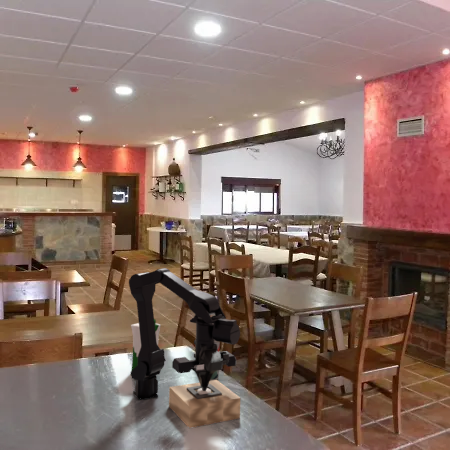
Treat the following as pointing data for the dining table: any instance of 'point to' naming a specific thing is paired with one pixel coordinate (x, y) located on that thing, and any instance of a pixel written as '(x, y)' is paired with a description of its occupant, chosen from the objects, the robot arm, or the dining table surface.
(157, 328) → the milk carton
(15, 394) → the dining table surface
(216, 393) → the socket block
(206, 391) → the dowel
